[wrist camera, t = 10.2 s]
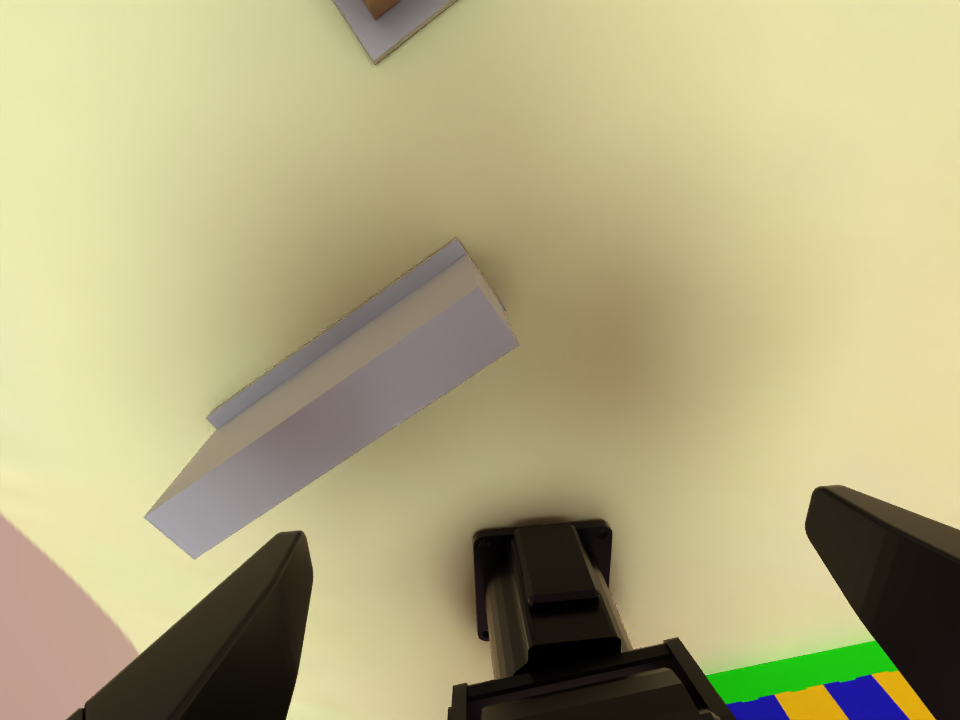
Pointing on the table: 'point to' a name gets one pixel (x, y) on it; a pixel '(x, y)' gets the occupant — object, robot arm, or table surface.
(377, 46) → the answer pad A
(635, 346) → the table surface
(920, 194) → the table surface
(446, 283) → the screen
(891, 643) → the robot arm
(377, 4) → the brown paneled cube
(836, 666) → the toy house
